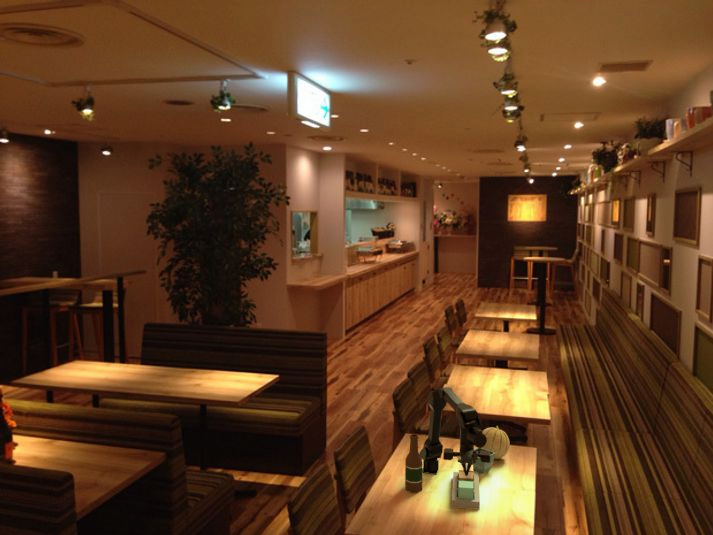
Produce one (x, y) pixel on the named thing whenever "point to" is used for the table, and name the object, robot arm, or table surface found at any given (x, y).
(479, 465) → the flower pot
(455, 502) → the grey rectangular tray
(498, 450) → the cantaloupe
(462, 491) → the green block
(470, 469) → the light brown block
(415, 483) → the beer bottle
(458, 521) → the table surface
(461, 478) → the tan block
